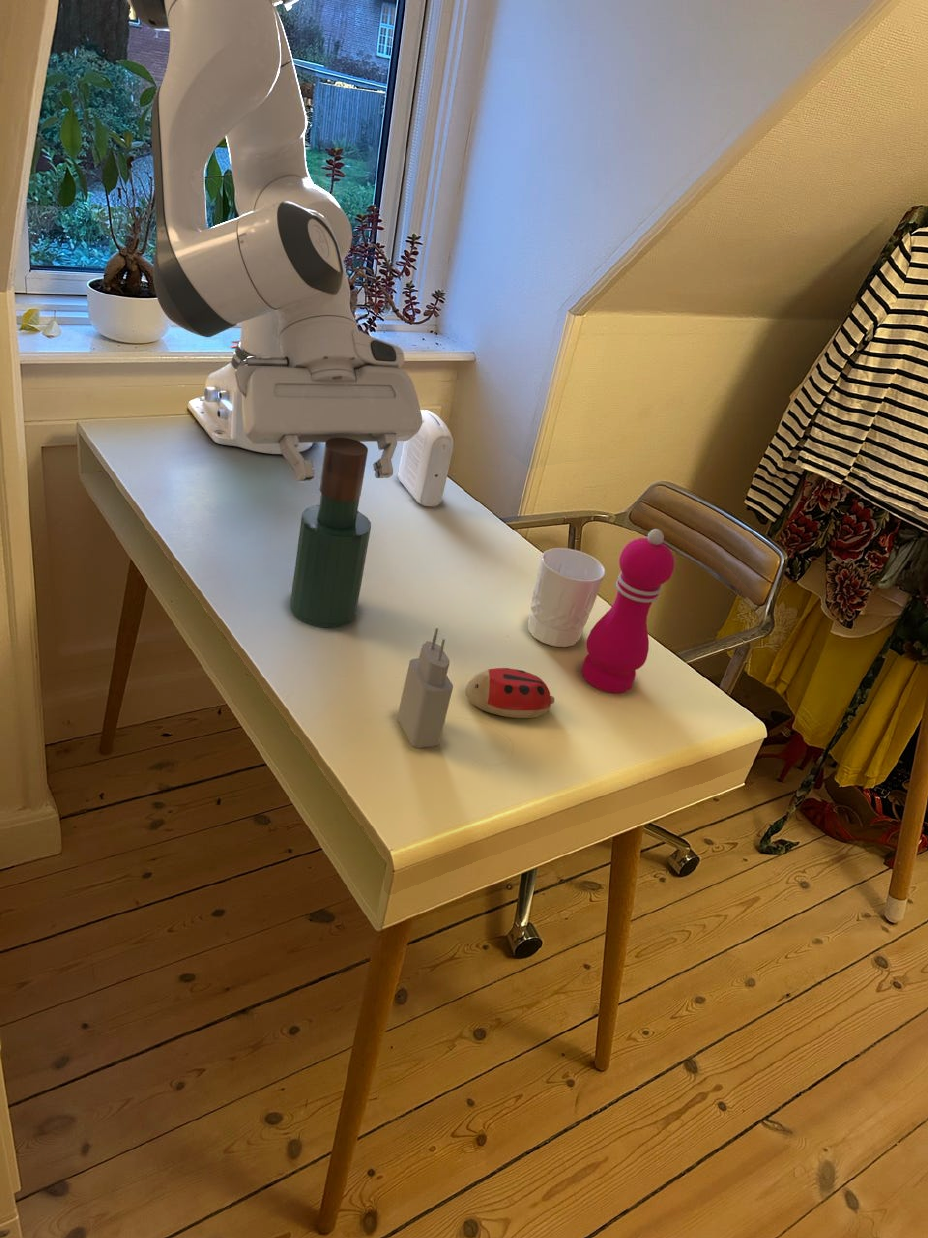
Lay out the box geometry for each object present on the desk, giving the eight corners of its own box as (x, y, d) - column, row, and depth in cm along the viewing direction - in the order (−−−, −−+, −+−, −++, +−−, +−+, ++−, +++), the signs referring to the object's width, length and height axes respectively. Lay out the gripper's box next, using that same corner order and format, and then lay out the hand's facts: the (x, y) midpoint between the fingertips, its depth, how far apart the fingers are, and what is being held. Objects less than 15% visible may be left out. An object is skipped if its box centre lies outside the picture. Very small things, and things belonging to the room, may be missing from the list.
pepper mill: (634, 703, 112) (690, 553, 102) (574, 685, 113) (623, 534, 102) (637, 670, 118) (690, 525, 108) (580, 653, 119) (627, 508, 108)
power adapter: (422, 712, 102) (444, 617, 96) (441, 745, 98) (465, 648, 92) (395, 714, 101) (415, 618, 95) (413, 748, 97) (435, 651, 91)
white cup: (512, 616, 123) (531, 548, 118) (565, 614, 126) (585, 547, 121) (539, 652, 117) (560, 582, 112) (594, 648, 120) (617, 579, 115)
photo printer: (444, 507, 146) (461, 430, 140) (418, 507, 144) (434, 429, 138) (418, 476, 154) (433, 403, 147) (393, 476, 152) (407, 401, 145)
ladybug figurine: (461, 680, 109) (467, 654, 107) (545, 690, 111) (553, 664, 109) (466, 717, 103) (473, 690, 101) (555, 727, 105) (564, 701, 103)
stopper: (308, 506, 108) (317, 439, 104) (341, 500, 111) (351, 435, 107) (331, 524, 106) (342, 457, 102) (365, 518, 109) (376, 452, 105)
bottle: (277, 600, 115) (291, 481, 107) (331, 586, 120) (348, 472, 112) (314, 633, 111) (332, 513, 103) (368, 618, 116) (389, 502, 108)
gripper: (240, 342, 99) (264, 471, 98) (415, 349, 110) (439, 465, 108) (223, 368, 105) (245, 491, 103) (392, 372, 115) (414, 483, 114)
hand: (346, 478), depth 106 cm, fingers open, 8 cm apart
